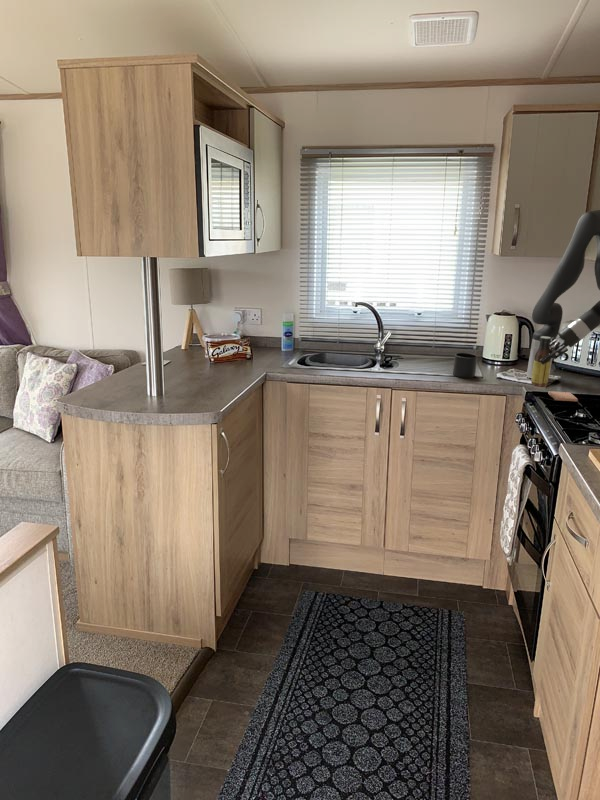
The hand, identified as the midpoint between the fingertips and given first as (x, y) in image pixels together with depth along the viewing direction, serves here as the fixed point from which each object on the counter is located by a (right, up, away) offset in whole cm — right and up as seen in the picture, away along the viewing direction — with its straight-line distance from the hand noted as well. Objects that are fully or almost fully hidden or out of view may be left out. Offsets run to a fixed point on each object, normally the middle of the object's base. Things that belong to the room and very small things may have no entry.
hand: (538, 360), depth 241 cm
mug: (-23, -5, +27) cm, 36 cm away
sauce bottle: (+1, -10, +3) cm, 11 cm away
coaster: (+10, -15, 0) cm, 18 cm away
